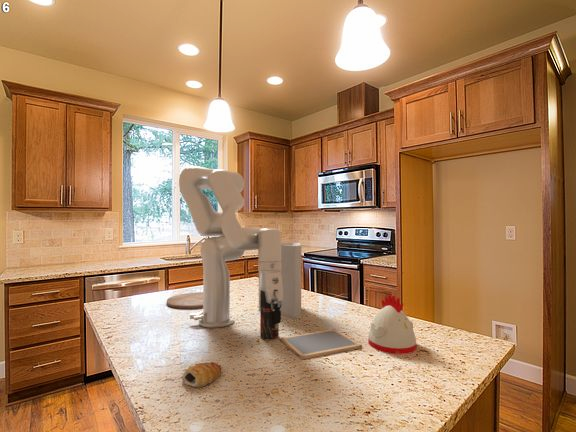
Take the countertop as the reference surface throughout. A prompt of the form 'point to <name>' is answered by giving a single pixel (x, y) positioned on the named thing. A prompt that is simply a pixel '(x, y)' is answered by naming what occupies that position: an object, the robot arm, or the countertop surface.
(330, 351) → the slate board
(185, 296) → the trivet
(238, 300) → the countertop surface
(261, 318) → the deodorant
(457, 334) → the countertop surface
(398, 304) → the kitchen timer
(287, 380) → the countertop surface
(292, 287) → the tall white carton
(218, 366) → the pastry
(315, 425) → the countertop surface
